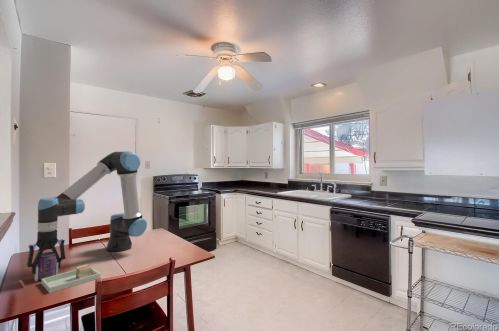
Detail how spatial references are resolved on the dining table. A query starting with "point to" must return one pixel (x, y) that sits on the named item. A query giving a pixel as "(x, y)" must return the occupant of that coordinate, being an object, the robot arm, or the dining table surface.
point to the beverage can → (46, 265)
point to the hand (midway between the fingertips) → (46, 277)
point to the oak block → (83, 271)
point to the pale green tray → (66, 280)
